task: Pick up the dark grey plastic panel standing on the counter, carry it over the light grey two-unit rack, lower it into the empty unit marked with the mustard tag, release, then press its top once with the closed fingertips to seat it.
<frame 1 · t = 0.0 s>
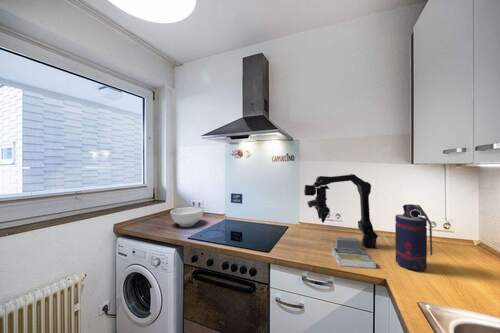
hand: (321, 220, 124), 15 cm above the worktop, fingers open, 9 cm apart
decorative bowl: (187, 224, 164), on the worktop
rack: (351, 259, 102), on the worktop
grenade: (413, 267, 95), on the worktop
panel: (346, 249, 116), on the worktop
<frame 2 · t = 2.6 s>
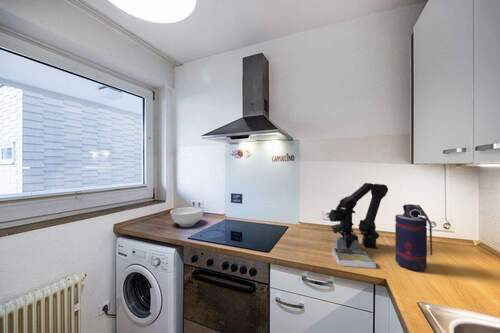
hand: (346, 246, 116), 1 cm above the worktop, fingers closed on panel, 4 cm apart
panel: (346, 249, 116), on the worktop, touching gripper
everything else where it was.
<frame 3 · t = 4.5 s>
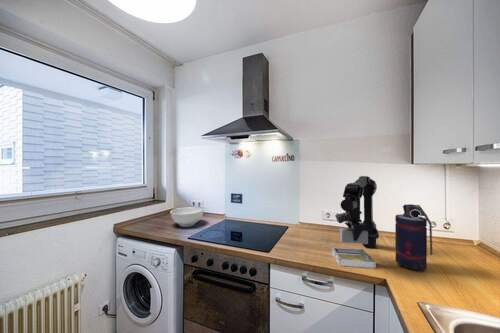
hand: (353, 239, 99), 12 cm above the worktop, fingers closed on panel, 4 cm apart
panel: (353, 241, 99), point 11 cm above the worktop, touching gripper
everything else where it was.
when the fingers open (4 cm above the worktop, at t = 6.3 s): panel drops 2 cm, resting on rack.
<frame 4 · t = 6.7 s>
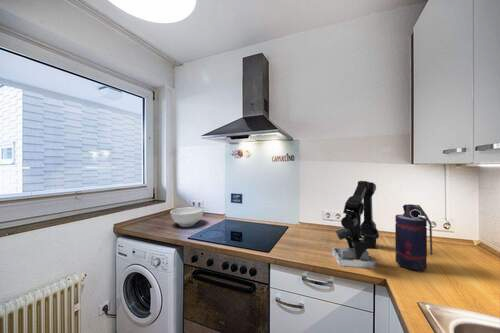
hand: (354, 255, 99), 4 cm above the worktop, fingers open, 9 cm apart
panel: (354, 261, 99), point 1 cm above the worktop, touching rack
everything else where it was.
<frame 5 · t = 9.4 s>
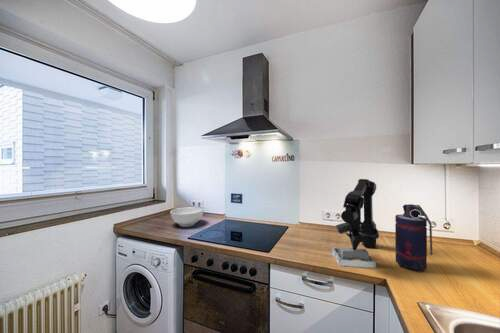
hand: (354, 249, 99), 7 cm above the worktop, fingers closed
nothing on the worktop moved.
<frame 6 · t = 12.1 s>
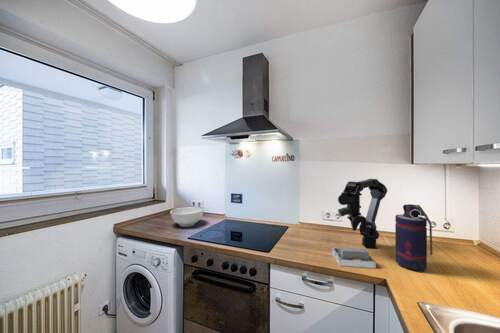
hand: (354, 230, 112), 12 cm above the worktop, fingers closed
nothing on the worktop moved.
at the end: panel 0.1 cm from the target spot on the rack, point 0.6 cm above the rack's base; panel tilted 0°; the gripper is holding nothing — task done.
